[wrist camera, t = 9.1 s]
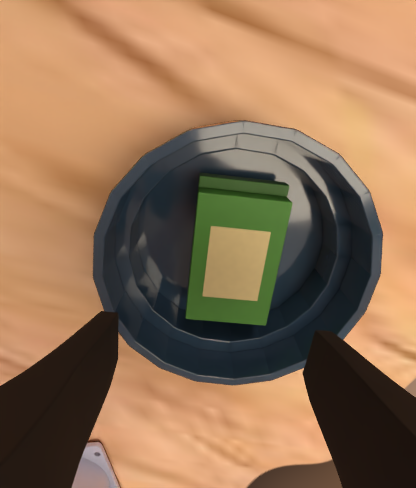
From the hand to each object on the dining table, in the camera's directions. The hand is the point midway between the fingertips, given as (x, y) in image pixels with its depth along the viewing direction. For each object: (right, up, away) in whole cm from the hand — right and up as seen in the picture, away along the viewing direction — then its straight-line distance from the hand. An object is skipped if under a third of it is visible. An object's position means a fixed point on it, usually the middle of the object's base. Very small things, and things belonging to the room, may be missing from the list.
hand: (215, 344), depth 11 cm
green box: (+1, +4, +8) cm, 9 cm away
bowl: (+1, +4, +8) cm, 9 cm away
